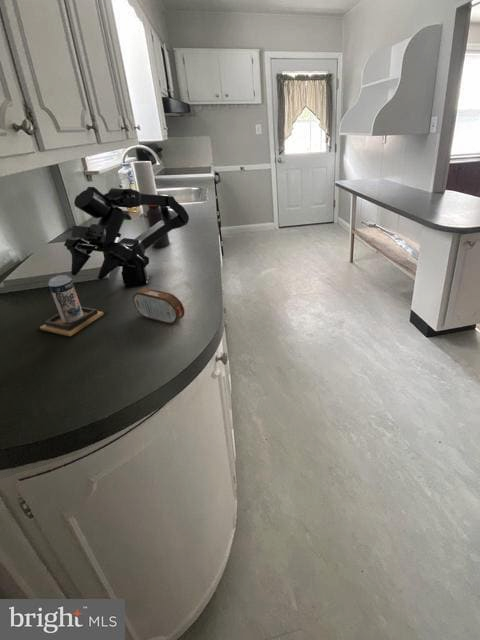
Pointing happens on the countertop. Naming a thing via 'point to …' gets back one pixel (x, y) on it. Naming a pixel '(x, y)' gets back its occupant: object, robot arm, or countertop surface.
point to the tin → (158, 305)
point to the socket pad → (73, 327)
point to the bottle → (153, 218)
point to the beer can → (65, 298)
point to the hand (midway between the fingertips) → (86, 277)
